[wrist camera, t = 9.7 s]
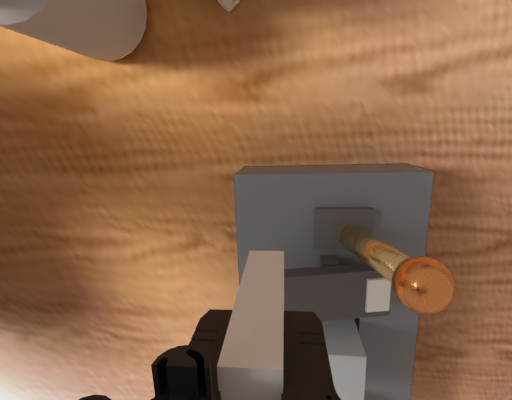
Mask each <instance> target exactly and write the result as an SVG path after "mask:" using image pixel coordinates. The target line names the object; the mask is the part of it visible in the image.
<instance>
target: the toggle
mask: <svg viewBox="0 0 512 400" xmlns="http://www.w3.org/2000/svg"><path fill="white" fill-rule="evenodd" d="M337 239H338V241H339V243H340V244H341V245H342V246H344V247H345V248H346V249H348V250H349V251H350V252H352V253H353V254H354V255H356V256H357V257H358V258H360V259H361V260H362V261H364V262H365V263H366V264H368V265H369V266H370V267H372V268H373V269H374V270H376V271H377V272H378V273H380V274H381V275H382V276H383V277H385V278H386V279H387V280H389V281H390V282H391V283H392V288H393V291H394V293H395V295H396V297H397V298H398V300H399V301H400V302H401V303H402V304H403V305H404V306H405V307H407V308H408V309H410V310H412V311H415V312H417V313H422V314H434V313H438V312H441V311H443V310H444V309H446V308H447V307H448V306H449V305H450V304H451V303H452V301H453V299H454V297H455V292H456V285H455V281H454V278H453V276H452V274H451V272H450V271H449V270H448V269H447V267H446V266H444V265H443V264H442V263H441V262H439V261H437V260H435V259H433V258H430V257H426V256H413V257H409V256H407V255H405V254H403V253H402V252H400V251H398V250H397V249H395V248H393V247H391V246H390V245H388V244H386V243H384V242H383V241H381V240H379V239H377V238H376V237H374V236H372V235H371V234H369V233H367V232H365V231H364V230H362V229H360V228H358V227H357V226H355V225H353V224H345V225H342V226H341V227H340V228H339V229H338V231H337Z"/></svg>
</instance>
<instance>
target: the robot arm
mask: <svg viewBox="0 0 512 400" xmlns="http://www.w3.org/2000/svg"><path fill="white" fill-rule="evenodd" d="M151 366H152V374H153V382H154V390H155V397H154V398H153V399H151V400H341V399H340V397H339V396H338V394H337V393H336V390H335V387H334V384H333V378H332V373H331V368H330V362H329V357H328V352H327V347H326V341H325V336H324V331H323V326H322V321H321V320H320V319H319V318H318V316H317V315H316V314H315V313H314V312H310V311H284V251H249V255H248V258H247V262H246V265H245V269H244V272H243V276H242V279H241V283H240V286H239V290H238V293H237V297H236V300H235V304H234V308H233V310H211V309H210V310H209V311H208V312H207V313H206V314H205V315H204V316H203V317H202V318H200V320H199V323H198V325H197V327H196V331H195V332H194V334H193V336H192V339H191V341H190V343H189V345H185V346H178V347H175V348H172V349H169V350H167V351H166V352H164V353H163V354H161V355H160V356H158V357H157V359H156V360H155V361H154V362H153V363H152V365H151ZM79 400H111V399H110V398H108V397H107V396H103V395H92V396H87V397H83V398H81V399H79Z"/></svg>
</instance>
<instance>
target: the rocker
mask: <svg viewBox="0 0 512 400" xmlns="http://www.w3.org/2000/svg"><path fill="white" fill-rule="evenodd" d="M391 288H392V283H391V282H390V281H389V280H387V279H386V278H385V277H383V276H382V275H381V274H380V273H378V272H377V271H376V270H374V269H373V268H372V267H370V266H369V265H368V264H366V263H362V264H348V265H334V266H320V267H307V268H293V269H284V311H310V312H314V313H315V314H316V315H317V316H318V318H319V319H320V320H321V321H330V320H341V319H353V318H364V317H375V316H387V315H389V313H390V301H391Z"/></svg>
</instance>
